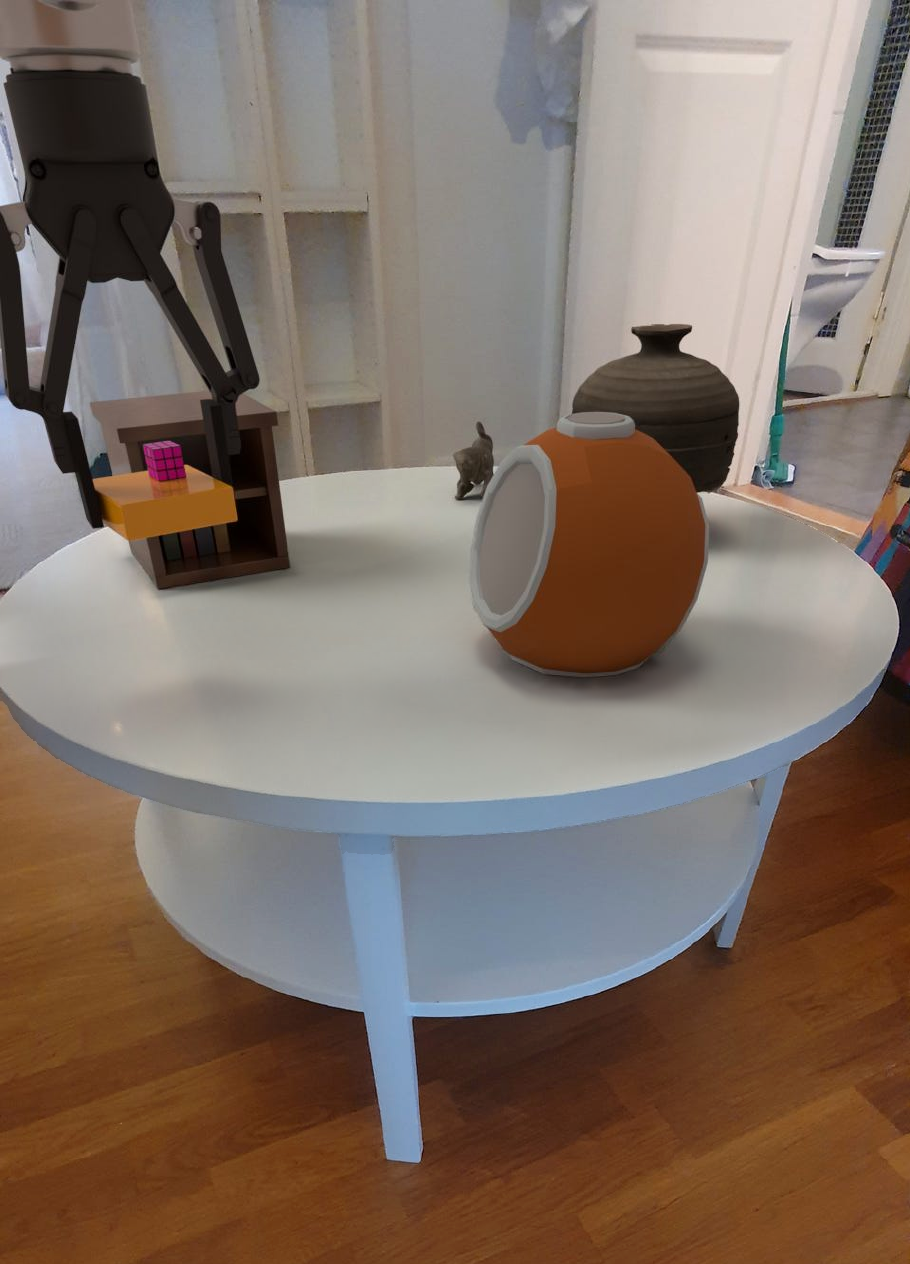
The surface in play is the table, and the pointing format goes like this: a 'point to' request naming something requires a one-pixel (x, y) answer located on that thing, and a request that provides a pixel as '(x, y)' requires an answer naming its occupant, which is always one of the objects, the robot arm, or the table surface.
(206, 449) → the bookcase
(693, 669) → the table surface
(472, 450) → the grey cat figurine
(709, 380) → the pot
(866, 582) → the table surface
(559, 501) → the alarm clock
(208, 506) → the orange slab with cube
